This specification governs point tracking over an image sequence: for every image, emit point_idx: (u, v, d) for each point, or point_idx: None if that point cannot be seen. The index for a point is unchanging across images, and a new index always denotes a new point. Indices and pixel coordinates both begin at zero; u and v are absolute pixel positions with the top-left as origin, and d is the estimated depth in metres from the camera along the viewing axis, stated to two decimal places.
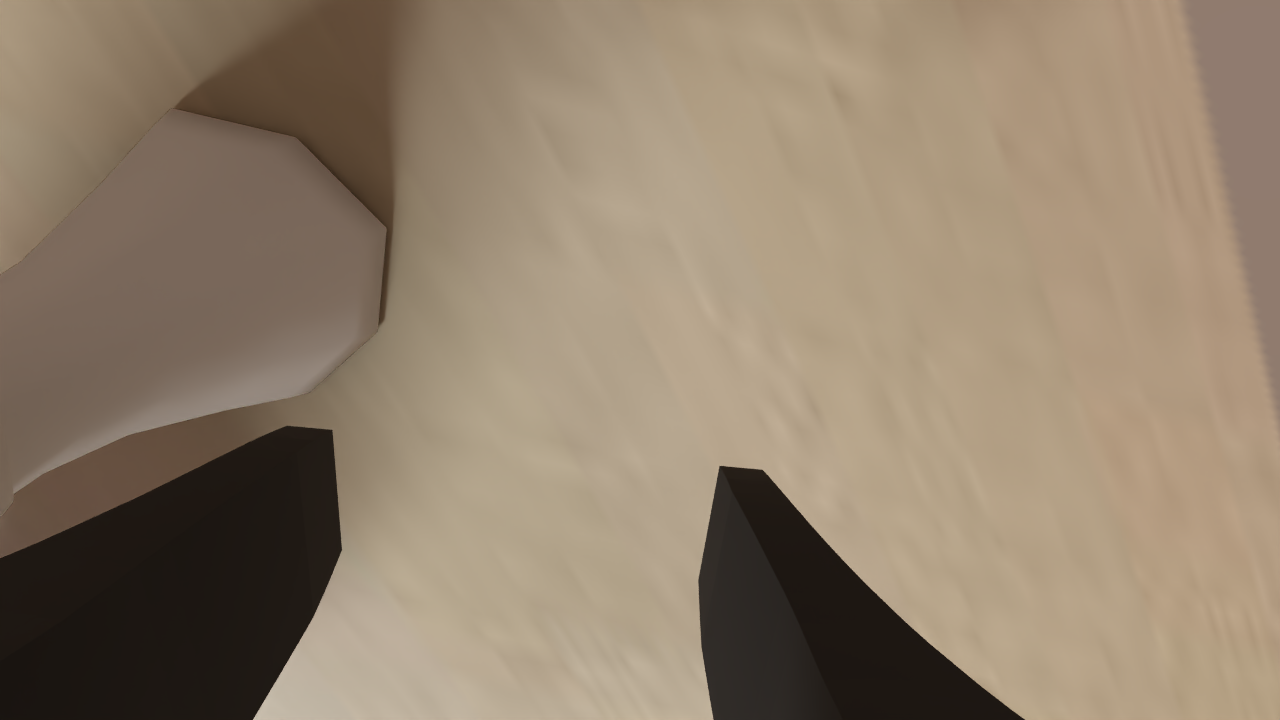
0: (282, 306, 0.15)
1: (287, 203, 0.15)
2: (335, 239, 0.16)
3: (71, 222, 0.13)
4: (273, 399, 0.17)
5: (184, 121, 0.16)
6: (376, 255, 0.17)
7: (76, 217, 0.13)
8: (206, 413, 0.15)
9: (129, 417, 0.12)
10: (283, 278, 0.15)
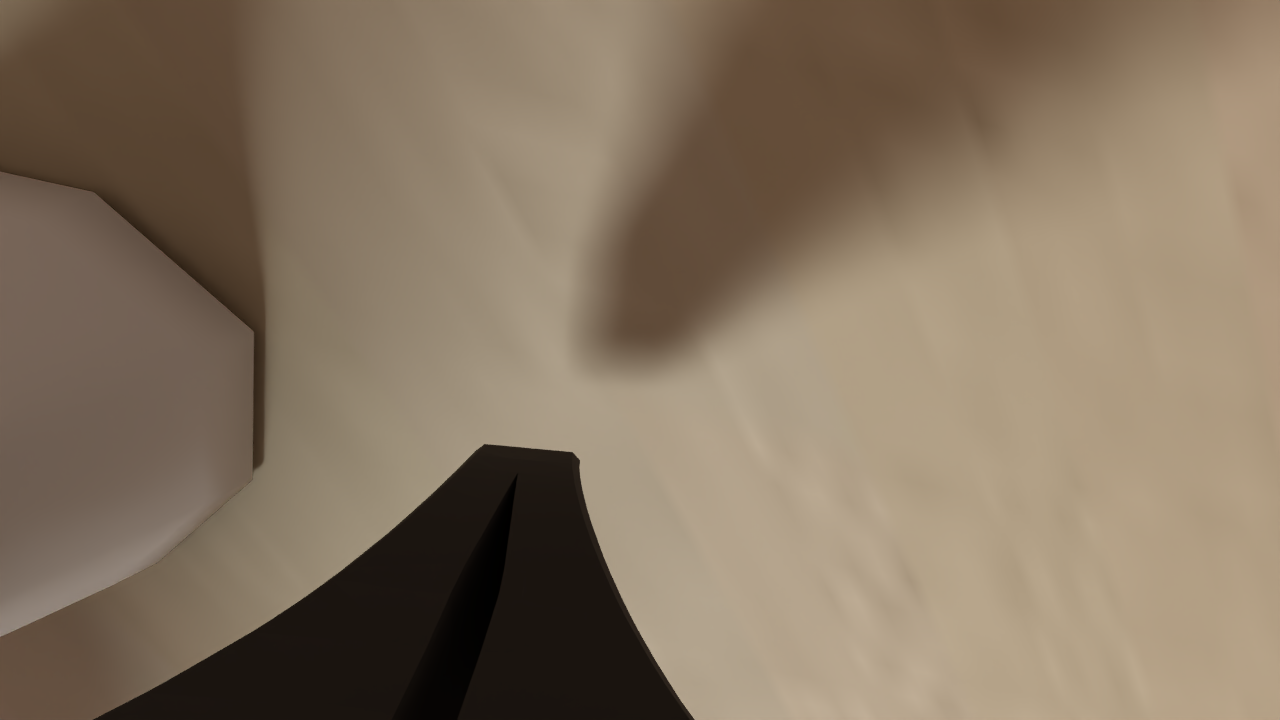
0: (34, 498, 0.09)
1: (57, 310, 0.09)
2: (152, 362, 0.10)
3: None
4: (77, 600, 0.11)
5: None
6: (239, 374, 0.11)
7: None
8: None
9: None
10: (26, 455, 0.08)
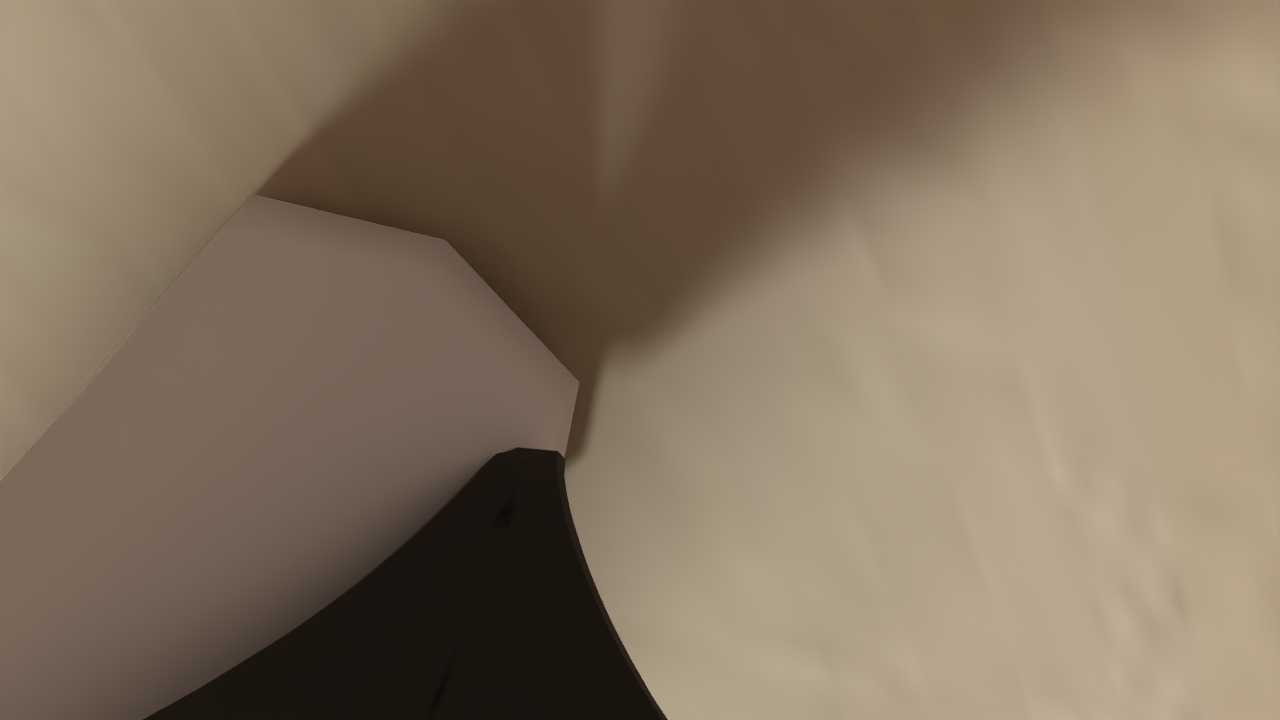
0: None
1: (433, 365, 0.09)
2: (509, 418, 0.09)
3: (40, 460, 0.06)
4: None
5: (269, 216, 0.10)
6: (560, 425, 0.11)
7: (52, 445, 0.06)
8: None
9: None
10: (427, 519, 0.08)
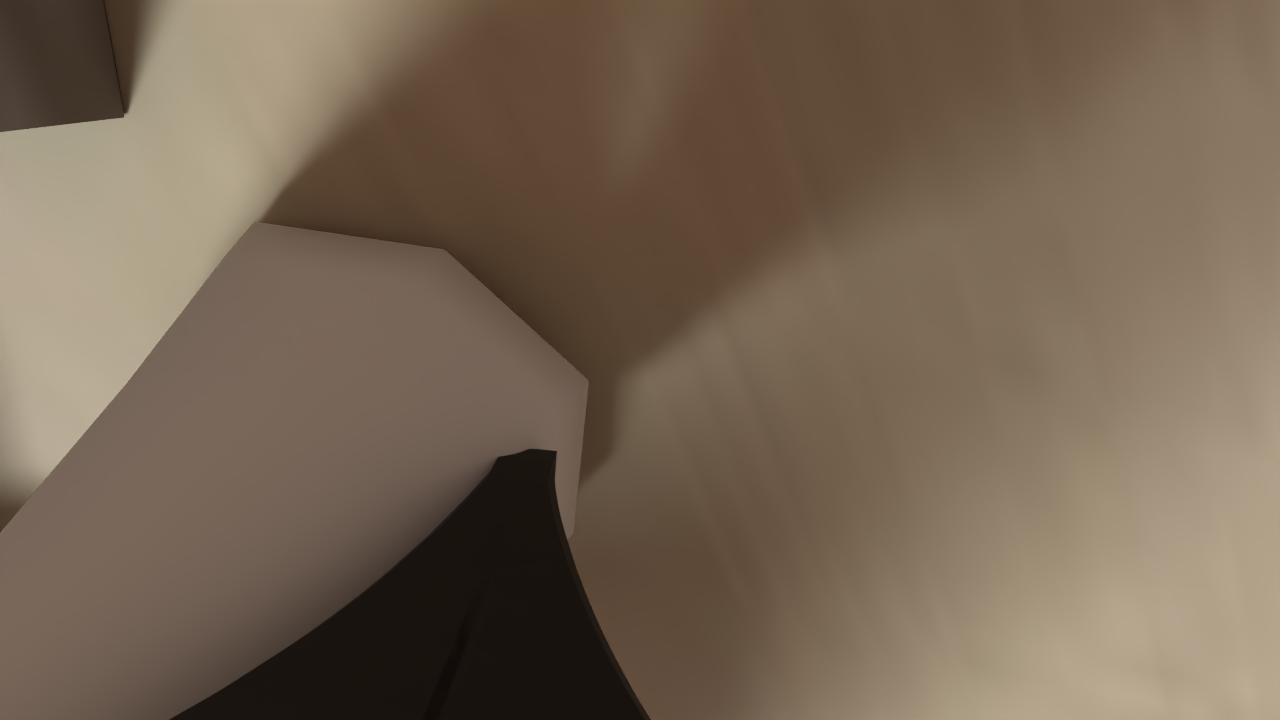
0: None
1: (439, 370, 0.09)
2: (518, 419, 0.09)
3: (57, 485, 0.06)
4: None
5: (273, 242, 0.10)
6: (574, 425, 0.11)
7: (69, 471, 0.07)
8: None
9: None
10: None
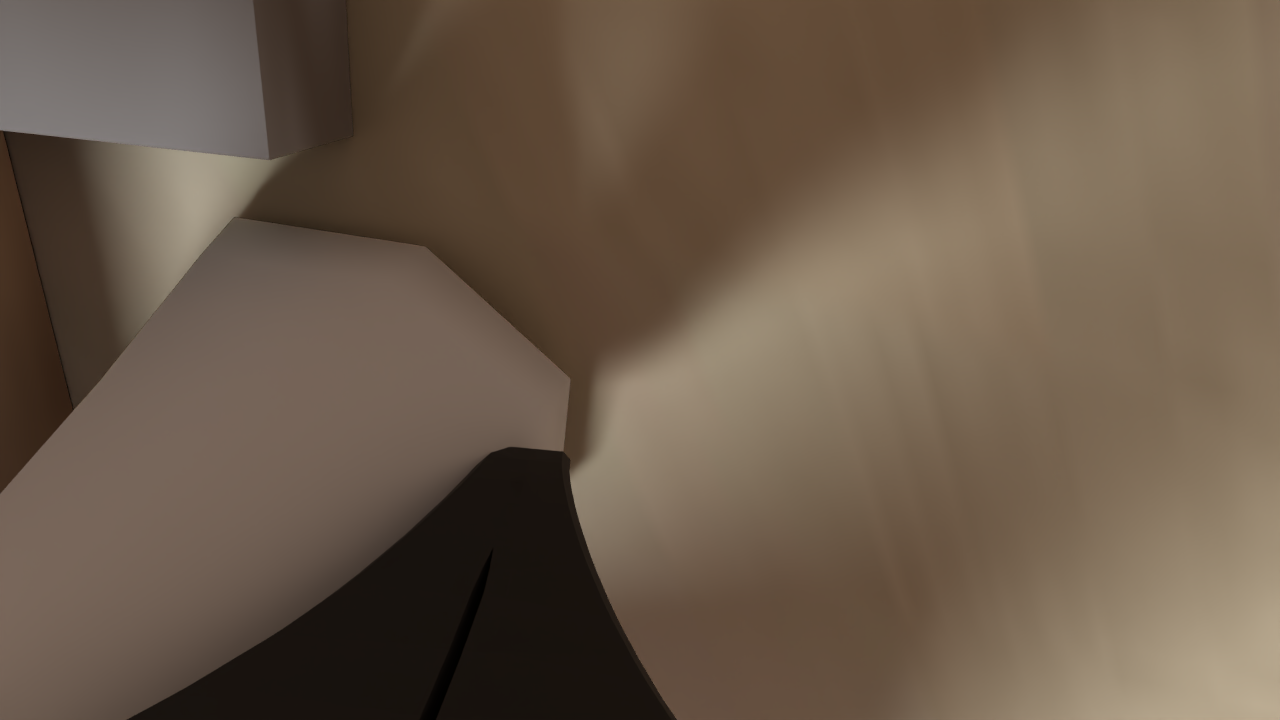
0: None
1: (418, 369, 0.09)
2: (497, 417, 0.09)
3: (26, 484, 0.06)
4: None
5: (252, 237, 0.10)
6: (556, 423, 0.11)
7: (39, 469, 0.07)
8: None
9: None
10: (420, 520, 0.08)
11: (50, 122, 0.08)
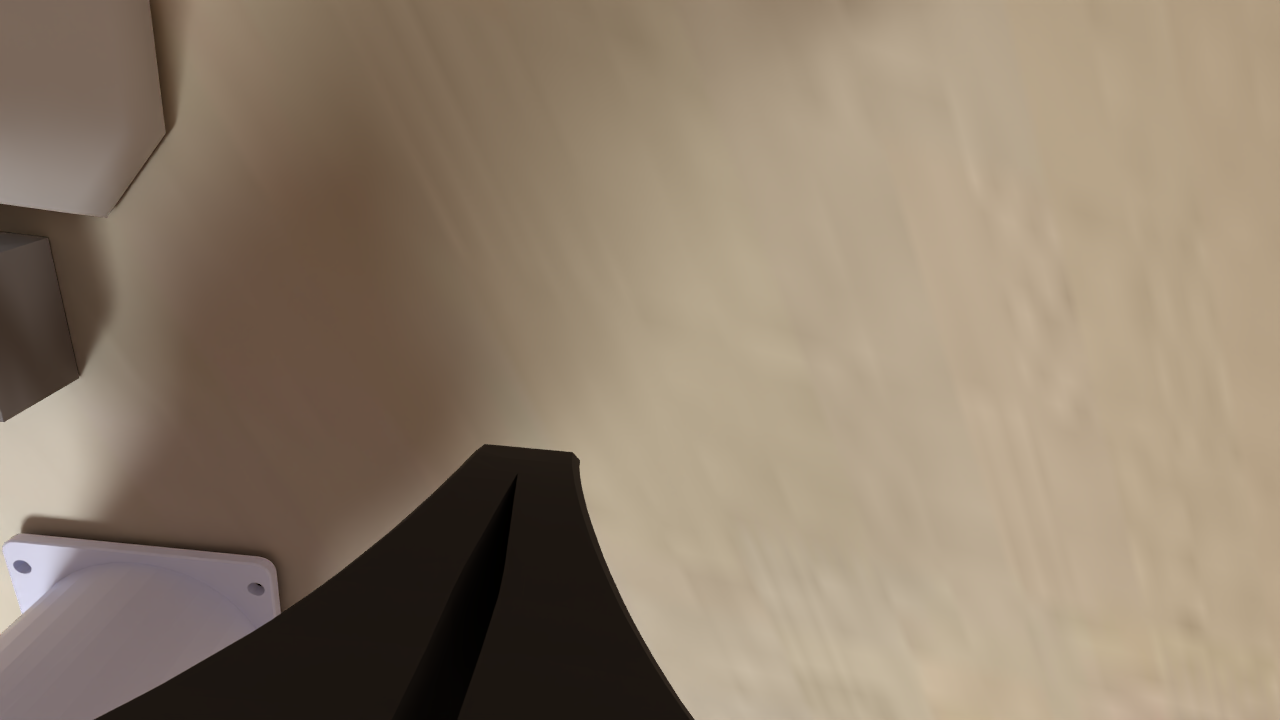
0: None
1: None
2: None
3: None
4: (41, 206, 0.15)
5: None
6: (141, 32, 0.15)
7: None
8: None
9: None
10: None
11: None
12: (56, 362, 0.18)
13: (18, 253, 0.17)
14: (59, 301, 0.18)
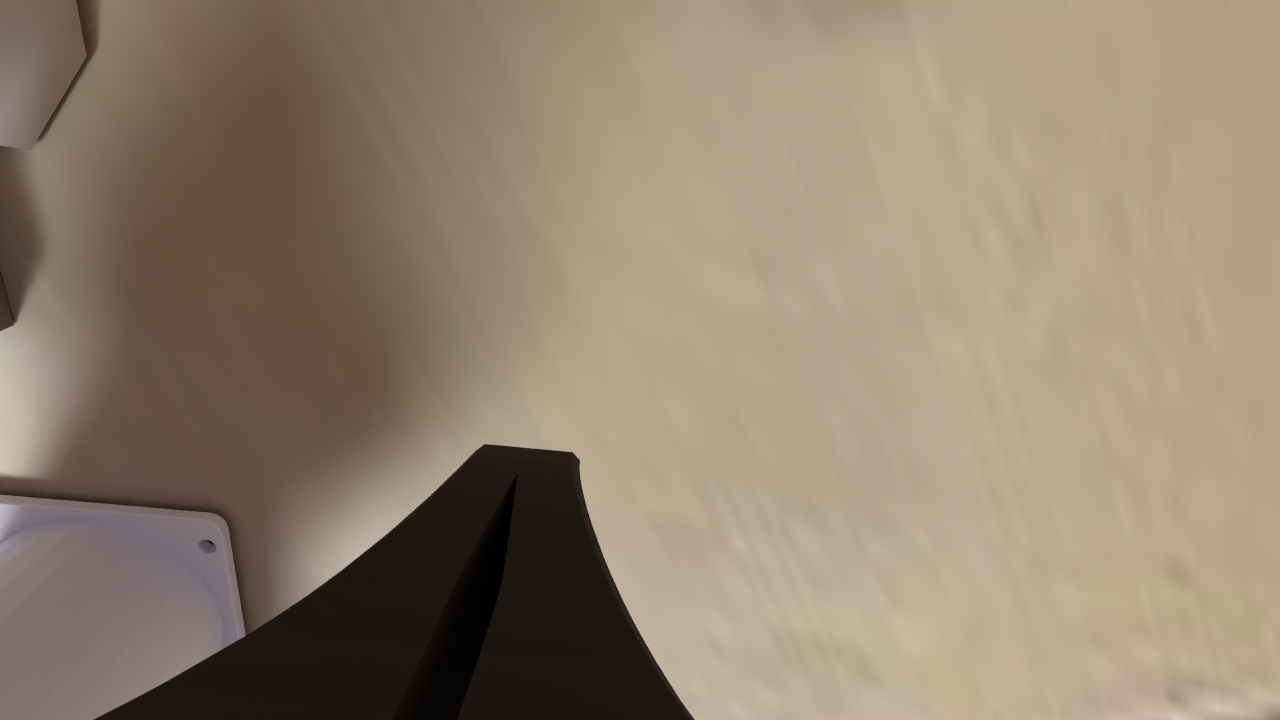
0: None
1: None
2: None
3: None
4: None
5: None
6: None
7: None
8: None
9: None
10: None
11: None
12: None
13: None
14: None
